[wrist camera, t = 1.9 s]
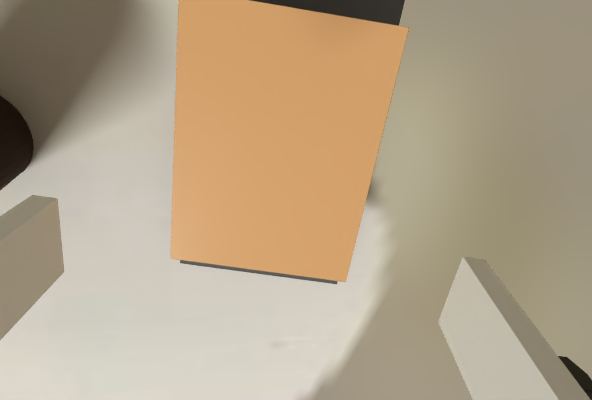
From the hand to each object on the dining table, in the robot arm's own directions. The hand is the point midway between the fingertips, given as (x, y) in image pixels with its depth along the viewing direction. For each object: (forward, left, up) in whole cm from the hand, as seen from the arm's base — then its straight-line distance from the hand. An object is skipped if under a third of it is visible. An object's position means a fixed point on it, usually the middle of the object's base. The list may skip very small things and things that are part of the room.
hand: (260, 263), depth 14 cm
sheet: (0, 0, -11) cm, 11 cm away
